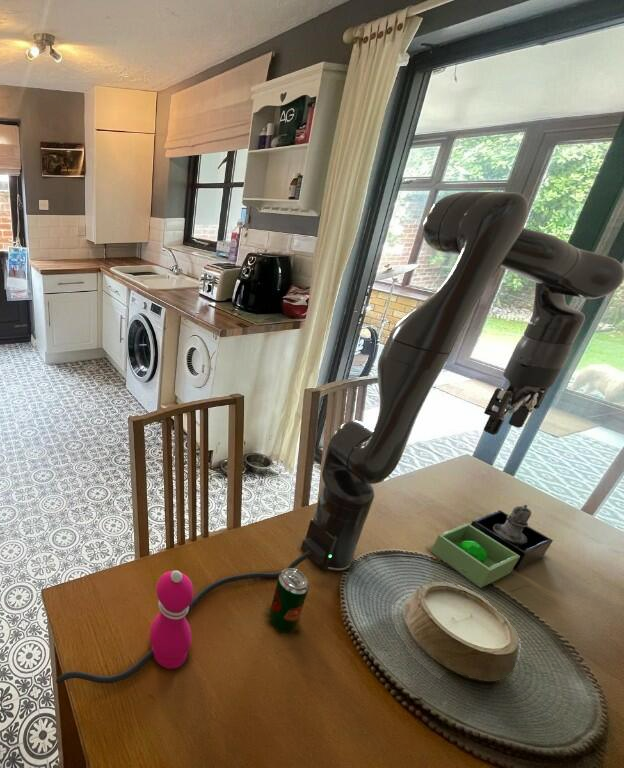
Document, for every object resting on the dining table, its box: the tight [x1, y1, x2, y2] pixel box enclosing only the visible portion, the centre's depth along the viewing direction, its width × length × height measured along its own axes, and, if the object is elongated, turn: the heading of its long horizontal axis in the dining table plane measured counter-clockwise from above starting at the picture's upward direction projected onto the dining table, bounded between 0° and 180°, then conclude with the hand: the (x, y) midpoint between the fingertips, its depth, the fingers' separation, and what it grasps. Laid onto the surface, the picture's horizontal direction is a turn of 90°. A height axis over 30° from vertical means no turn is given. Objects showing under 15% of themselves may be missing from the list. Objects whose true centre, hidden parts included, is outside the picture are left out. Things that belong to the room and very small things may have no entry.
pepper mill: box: [149, 570, 195, 670], centre depth 69 cm, size 7×7×20 cm
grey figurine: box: [493, 504, 532, 547], centre depth 92 cm, size 6×6×12 cm
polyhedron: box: [458, 541, 487, 563], centre depth 90 cm, size 5×5×5 cm
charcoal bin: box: [470, 509, 554, 571], centre depth 94 cm, size 10×10×5 cm
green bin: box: [430, 523, 520, 589], centre depth 90 cm, size 10×10×5 cm
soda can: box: [268, 567, 309, 633], centre depth 76 cm, size 5×5×12 cm
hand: (502, 429), depth 88 cm, fingers open, 8 cm apart
